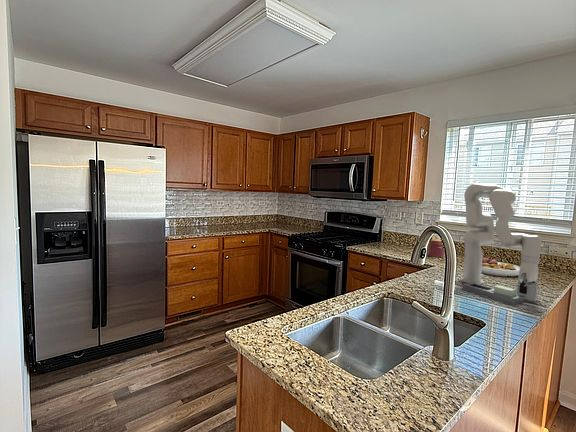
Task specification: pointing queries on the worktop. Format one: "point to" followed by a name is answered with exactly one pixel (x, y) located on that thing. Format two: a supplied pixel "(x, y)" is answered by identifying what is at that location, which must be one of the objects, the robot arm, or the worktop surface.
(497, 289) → the green clip block
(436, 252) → the canister
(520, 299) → the gray rectangular tray
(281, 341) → the worktop surface
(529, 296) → the medicine box
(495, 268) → the bowl
